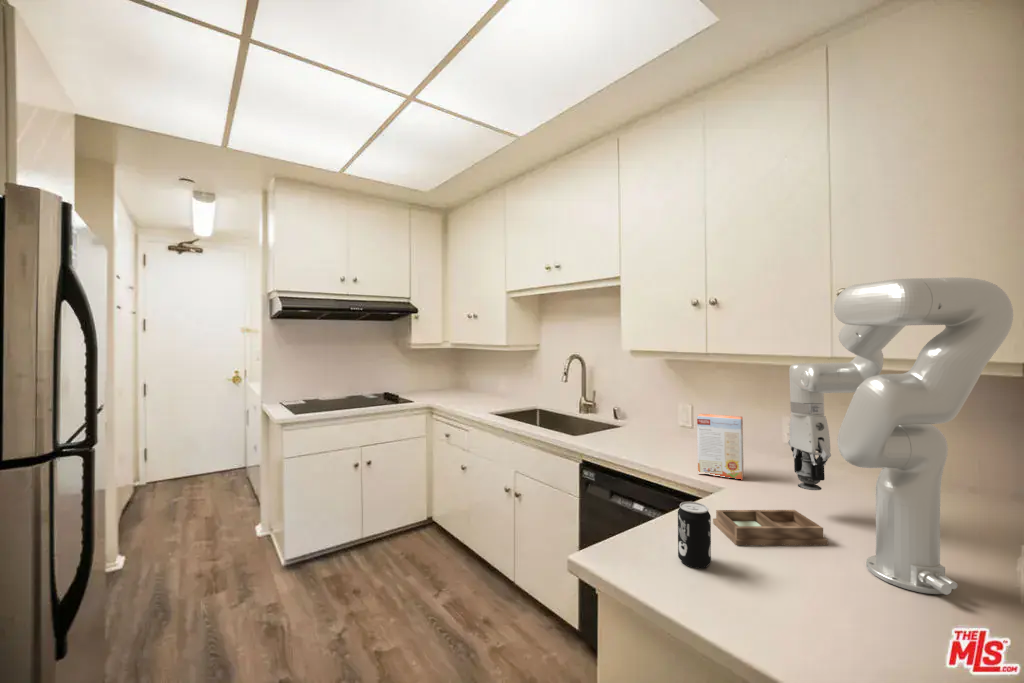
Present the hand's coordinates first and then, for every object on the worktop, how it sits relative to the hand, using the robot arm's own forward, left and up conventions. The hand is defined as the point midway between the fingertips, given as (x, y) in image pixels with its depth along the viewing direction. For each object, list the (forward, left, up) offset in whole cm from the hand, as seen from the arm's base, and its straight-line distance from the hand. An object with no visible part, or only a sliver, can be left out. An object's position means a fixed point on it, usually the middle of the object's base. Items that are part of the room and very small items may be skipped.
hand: (809, 475), depth 115 cm
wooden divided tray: (-10, +17, -11) cm, 23 cm away
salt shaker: (0, 0, -3) cm, 3 cm away
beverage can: (-23, +40, -11) cm, 48 cm away
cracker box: (+34, +8, -11) cm, 37 cm away
